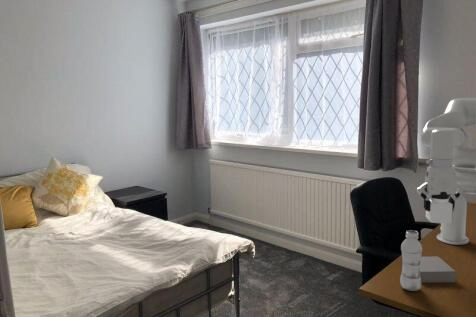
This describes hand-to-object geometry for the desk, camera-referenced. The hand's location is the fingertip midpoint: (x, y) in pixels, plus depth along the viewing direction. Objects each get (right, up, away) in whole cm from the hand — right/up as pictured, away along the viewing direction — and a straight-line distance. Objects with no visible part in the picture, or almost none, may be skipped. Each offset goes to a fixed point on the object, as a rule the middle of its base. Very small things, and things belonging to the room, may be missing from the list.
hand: (438, 210), depth 143 cm
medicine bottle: (0, -4, +1) cm, 4 cm away
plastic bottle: (-16, -25, -12) cm, 32 cm away
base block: (-4, -23, -1) cm, 24 cm away
